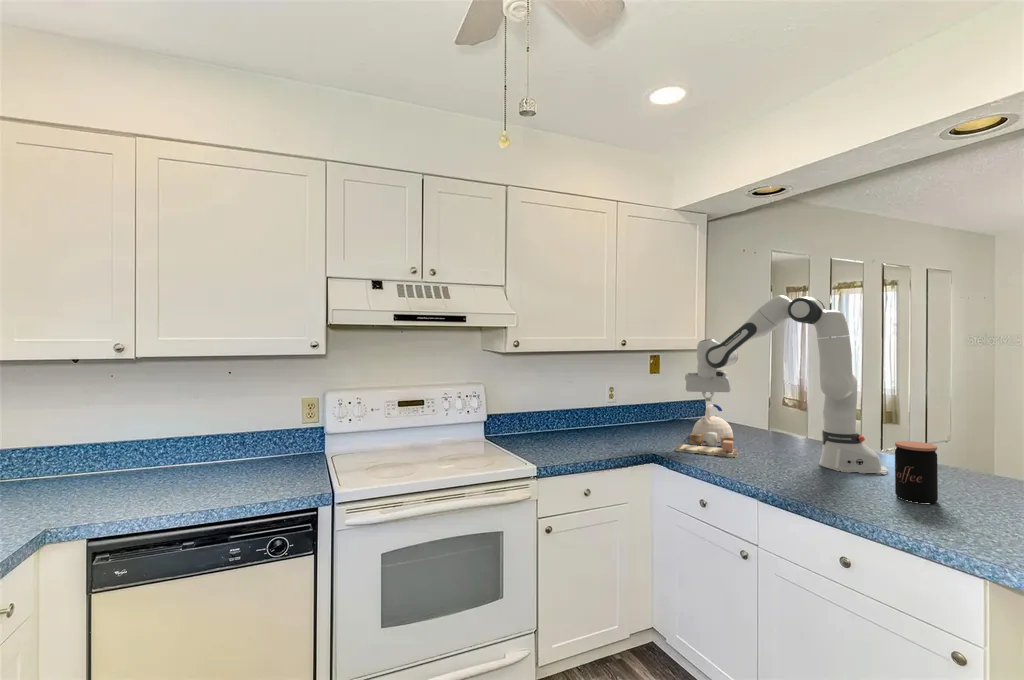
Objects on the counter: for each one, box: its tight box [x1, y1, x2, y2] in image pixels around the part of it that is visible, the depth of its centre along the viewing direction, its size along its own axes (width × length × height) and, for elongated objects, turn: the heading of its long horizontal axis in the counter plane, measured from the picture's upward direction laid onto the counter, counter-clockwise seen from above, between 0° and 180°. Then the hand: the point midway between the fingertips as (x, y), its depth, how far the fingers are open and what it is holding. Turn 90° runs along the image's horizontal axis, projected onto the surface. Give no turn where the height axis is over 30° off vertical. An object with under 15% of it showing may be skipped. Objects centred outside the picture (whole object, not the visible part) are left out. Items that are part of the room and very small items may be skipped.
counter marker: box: [723, 440, 733, 452], centre depth 218 cm, size 4×7×4 cm, turn 150°
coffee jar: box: [894, 440, 939, 504], centre depth 157 cm, size 11×11×18 cm
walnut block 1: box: [689, 432, 704, 446], centre depth 240 cm, size 5×5×5 cm
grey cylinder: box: [705, 432, 718, 447], centre depth 237 cm, size 5×5×6 cm
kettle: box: [691, 403, 734, 443], centre depth 253 cm, size 20×21×18 cm
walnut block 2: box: [720, 436, 735, 449], centre depth 233 cm, size 5×5×5 cm
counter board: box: [675, 443, 740, 459], centre depth 224 cm, size 26×10×2 cm, turn 60°
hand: (708, 401), depth 233 cm, fingers closed
